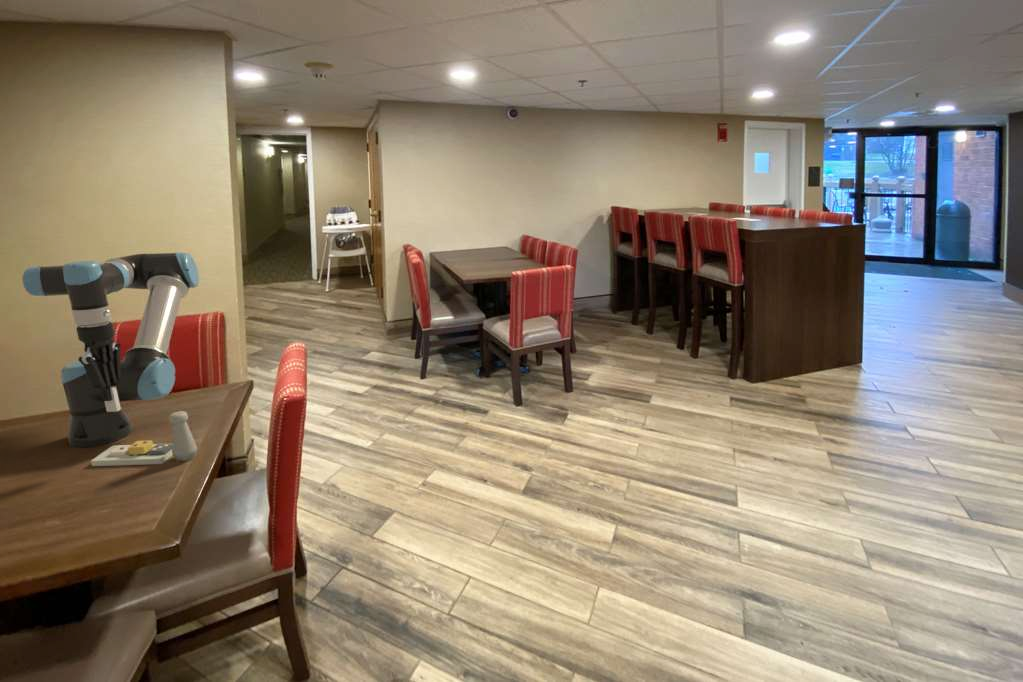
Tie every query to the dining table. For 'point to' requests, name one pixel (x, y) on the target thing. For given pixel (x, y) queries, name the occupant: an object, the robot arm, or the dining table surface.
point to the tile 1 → (120, 451)
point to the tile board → (128, 458)
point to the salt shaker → (182, 437)
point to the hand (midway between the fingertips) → (113, 410)
